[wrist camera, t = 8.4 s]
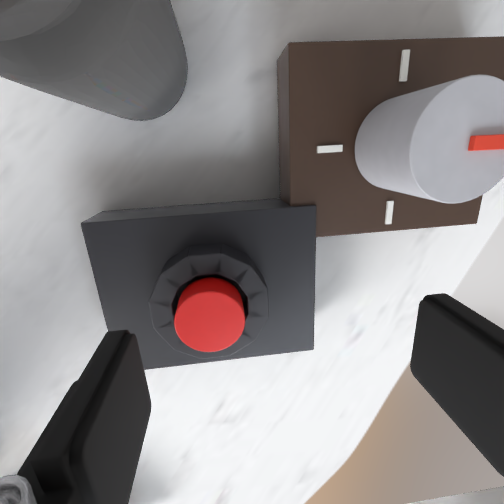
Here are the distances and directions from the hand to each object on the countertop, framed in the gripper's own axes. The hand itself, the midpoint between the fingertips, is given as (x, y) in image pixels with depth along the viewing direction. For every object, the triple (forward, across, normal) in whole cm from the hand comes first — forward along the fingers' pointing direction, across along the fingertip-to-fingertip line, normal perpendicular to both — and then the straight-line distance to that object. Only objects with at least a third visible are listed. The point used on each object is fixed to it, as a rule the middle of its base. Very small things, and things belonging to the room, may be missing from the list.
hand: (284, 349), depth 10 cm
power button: (+7, +3, +2) cm, 8 cm away
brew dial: (+8, -8, -6) cm, 13 cm away
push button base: (+12, +3, +2) cm, 12 cm away
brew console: (+12, -8, -6) cm, 15 cm away
